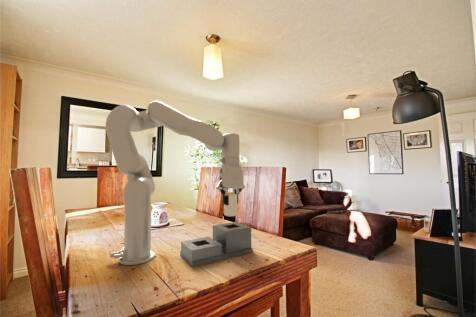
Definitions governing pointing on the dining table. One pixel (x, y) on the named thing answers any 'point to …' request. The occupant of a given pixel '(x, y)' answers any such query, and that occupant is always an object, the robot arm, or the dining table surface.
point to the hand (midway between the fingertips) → (230, 203)
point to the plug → (231, 205)
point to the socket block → (218, 244)
